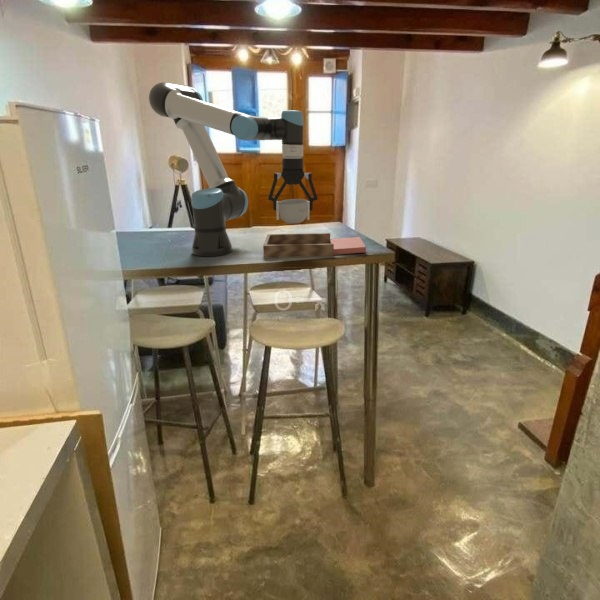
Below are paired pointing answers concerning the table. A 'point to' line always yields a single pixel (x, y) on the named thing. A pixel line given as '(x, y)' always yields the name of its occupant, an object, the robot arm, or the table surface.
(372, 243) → the table surface
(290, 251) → the crate
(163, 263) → the table surface
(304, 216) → the teacup
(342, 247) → the pink flat slab
